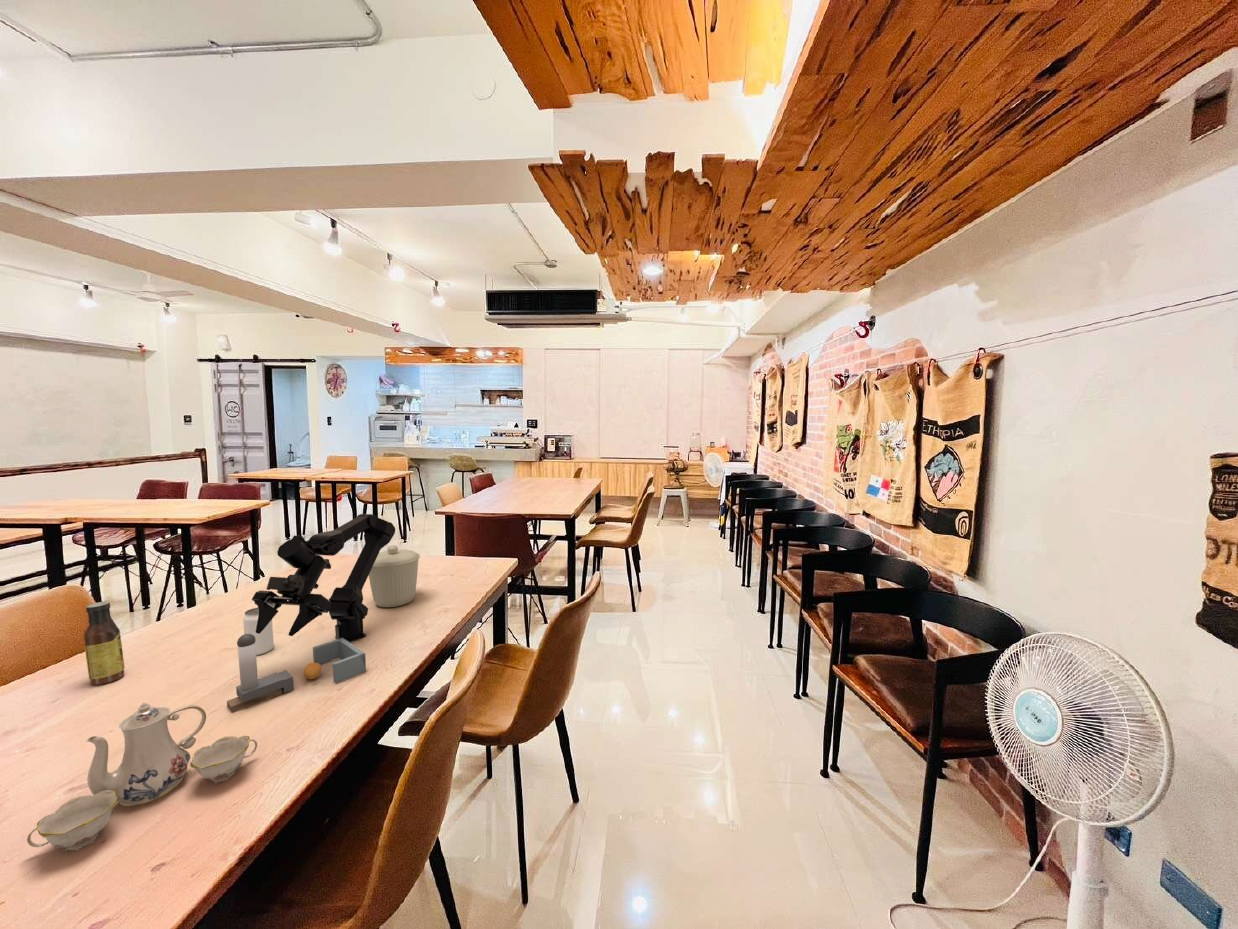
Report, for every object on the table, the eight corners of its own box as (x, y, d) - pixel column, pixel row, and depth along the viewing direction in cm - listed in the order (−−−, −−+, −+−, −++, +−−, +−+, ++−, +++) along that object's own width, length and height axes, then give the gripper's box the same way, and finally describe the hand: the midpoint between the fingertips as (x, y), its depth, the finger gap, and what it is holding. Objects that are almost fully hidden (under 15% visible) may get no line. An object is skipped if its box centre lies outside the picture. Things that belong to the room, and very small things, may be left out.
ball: (318, 672, 125) (317, 657, 124) (324, 677, 122) (323, 662, 122) (301, 678, 121) (300, 664, 121) (307, 684, 119) (306, 669, 119)
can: (258, 657, 132) (255, 616, 131) (239, 655, 133) (236, 614, 132) (279, 646, 139) (276, 607, 137) (261, 644, 140) (258, 605, 139)
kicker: (286, 682, 119) (282, 620, 118) (293, 689, 116) (289, 625, 115) (237, 700, 112) (232, 634, 110) (243, 708, 108) (238, 640, 107)
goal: (343, 654, 134) (342, 637, 134) (366, 671, 125) (365, 653, 125) (313, 665, 128) (312, 647, 128) (335, 683, 119) (334, 664, 119)
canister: (432, 599, 175) (430, 543, 173) (385, 616, 160) (383, 555, 158) (402, 590, 185) (400, 537, 183) (356, 605, 170) (353, 547, 168)
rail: (276, 688, 117) (276, 682, 117) (281, 693, 115) (281, 688, 115) (227, 706, 110) (226, 700, 109) (231, 712, 107) (231, 706, 107)
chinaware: (40, 895, 68) (29, 792, 65) (19, 830, 77) (9, 737, 74) (267, 773, 91) (265, 694, 89) (231, 734, 100) (229, 661, 98)
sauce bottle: (131, 675, 123) (123, 601, 121) (98, 688, 117) (89, 610, 115) (115, 671, 125) (108, 598, 123) (82, 683, 119) (74, 607, 117)
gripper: (255, 560, 123) (216, 619, 113) (320, 563, 120) (286, 624, 110) (283, 580, 131) (249, 636, 121) (344, 583, 128) (314, 641, 118)
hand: (273, 634), depth 117 cm, fingers open, 9 cm apart
